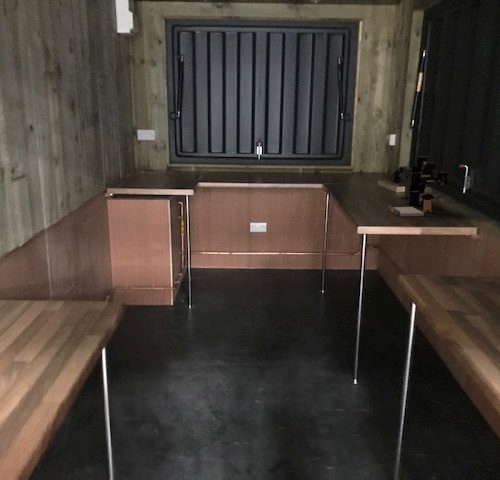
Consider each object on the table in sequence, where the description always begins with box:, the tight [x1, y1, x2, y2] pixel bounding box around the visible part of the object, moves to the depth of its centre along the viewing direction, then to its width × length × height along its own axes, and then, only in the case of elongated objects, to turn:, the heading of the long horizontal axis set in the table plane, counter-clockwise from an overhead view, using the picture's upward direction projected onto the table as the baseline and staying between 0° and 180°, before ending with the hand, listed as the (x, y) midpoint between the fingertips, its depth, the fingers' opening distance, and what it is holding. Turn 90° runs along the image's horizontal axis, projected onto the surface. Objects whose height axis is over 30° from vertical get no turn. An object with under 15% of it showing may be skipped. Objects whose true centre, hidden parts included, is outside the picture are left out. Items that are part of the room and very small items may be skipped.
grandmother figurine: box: [419, 186, 436, 213], centre depth 258 cm, size 8×4×13 cm, turn 92°
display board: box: [387, 205, 425, 217], centre depth 256 cm, size 15×13×2 cm
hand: (435, 180), depth 250 cm, fingers open, 9 cm apart
